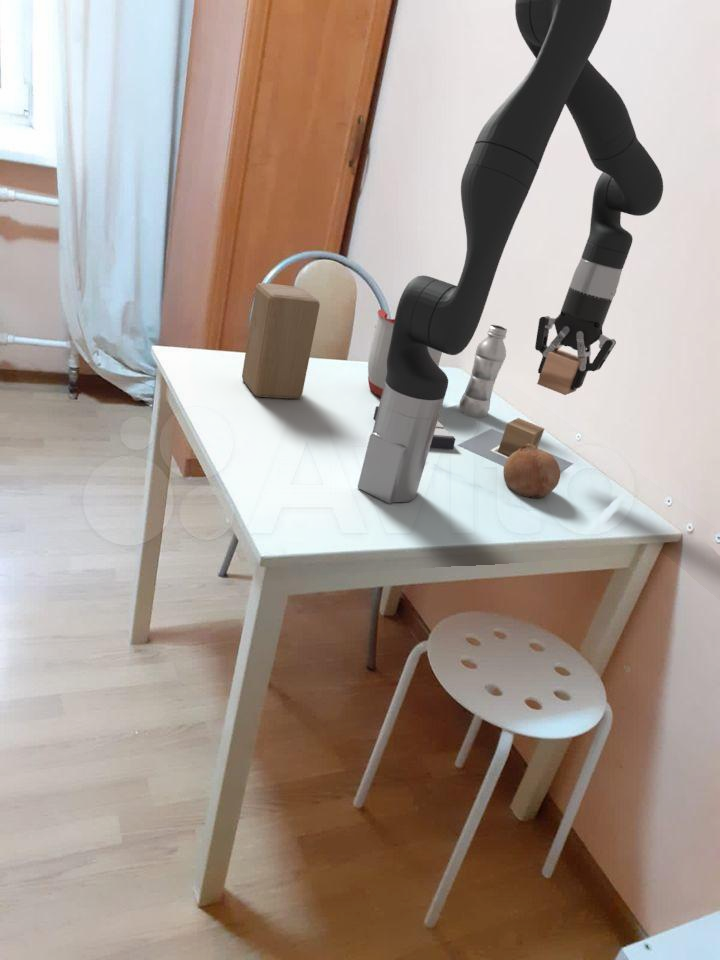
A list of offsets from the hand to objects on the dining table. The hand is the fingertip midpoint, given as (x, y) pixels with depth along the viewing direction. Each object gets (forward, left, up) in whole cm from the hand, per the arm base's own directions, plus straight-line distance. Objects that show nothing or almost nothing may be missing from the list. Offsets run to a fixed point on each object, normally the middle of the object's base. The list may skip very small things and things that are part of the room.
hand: (558, 382), depth 129 cm
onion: (-13, -5, -17) cm, 22 cm away
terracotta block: (0, 0, -1) cm, 1 cm away
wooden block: (-19, +49, -17) cm, 55 cm away
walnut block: (0, +3, -16) cm, 16 cm away
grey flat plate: (0, +3, -17) cm, 17 cm away
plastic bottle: (+13, +19, -17) cm, 29 cm away
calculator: (-10, +21, -18) cm, 29 cm away
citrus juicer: (+7, +36, -17) cm, 41 cm away
